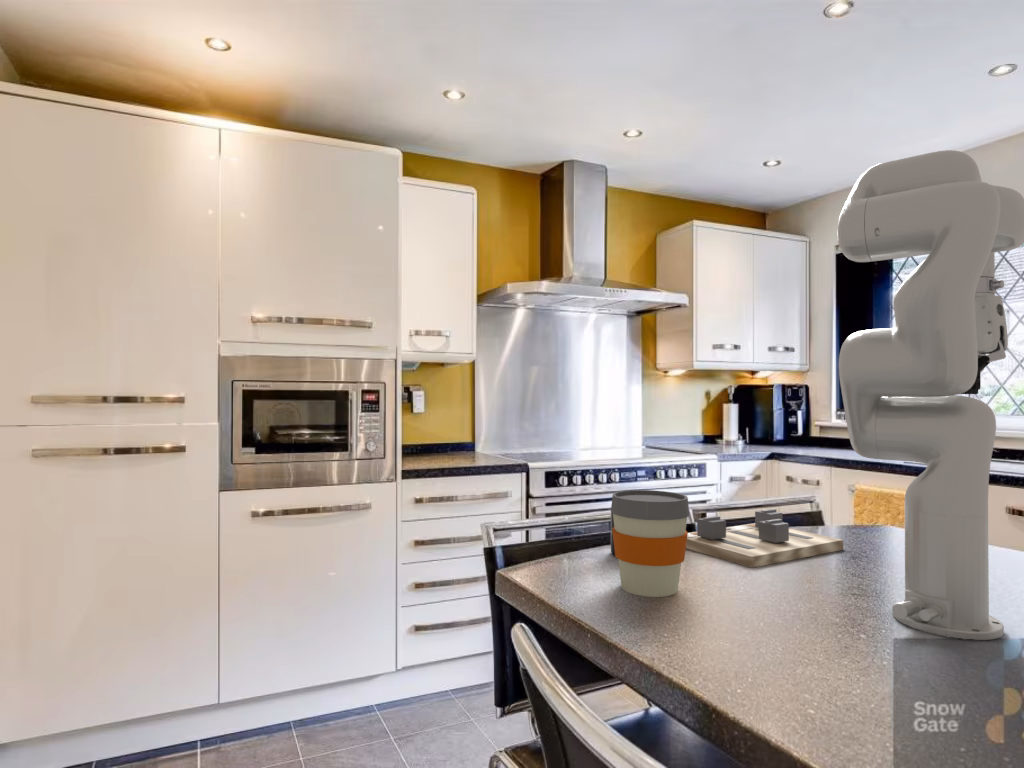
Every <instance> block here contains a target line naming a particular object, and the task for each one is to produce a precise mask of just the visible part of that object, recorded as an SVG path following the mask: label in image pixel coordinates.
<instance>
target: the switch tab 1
mask: <svg viewBox="0 0 1024 768" xmlns="http://www.w3.org/2000/svg"><path fill="white" fill-rule="evenodd" d="M696 520H697V521H696V522H697V524H696V525H697V527H696V532H697V536H700V537H704V538H708V539H711V540H714V539H720V538H726V527H727V520H725V519H721V516H718V515H717V516H715V515H714V516H707V517H702V518H701V517H700V518H697V519H696Z"/></svg>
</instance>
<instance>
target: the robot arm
mask: <svg viewBox="0 0 1024 768" xmlns="http://www.w3.org/2000/svg"><path fill="white" fill-rule="evenodd" d="M979 169H980V168H979V166H978V165H977V162H976V161H975V159H974V158H972V156H970V155H969V154H967V153H965V152H962V151H960V150H955V149H954V150H953V149H951V150H938V151H932V152H928V153H923V154H919V155H913V156H909V157H904V158H900V159H896V160H890V161H887V162H882V163H878V164H875V165H873V166H871V167H869V168H868V169H867V170H865V171H864V172H863V173H862V174H861V175H860V176H859V177H858V179H857V180H856V182H855V184H854V185H853V187H852V189H851V191H850V193H849V195H848V197H847V199H846V201H845V202H844V205H843V207H842V210H841V212H840V214H839V217H838V223H837V242H838V246H839V249H840V251H841V252H842V254H843V256H845V257H846V258H847V259H848V260H850V261H853V262H855V263H870V262H879V261H886V260H887V261H888V260H894V259H902V258H911V257H918V256H926V255H927V257H925V259H924V260H923V261H921V263H920V264H918V266H916V267H915V269H914V270H912V271H911V272H910V273H909V275H908V276H907V277H906V278H905V279H904V281H903V282H901V285H900V286H899V288H898V289H897V291H896V292H895V294H894V297H893V303H892V305H893V310H894V311H893V312H894V320H895V327H890V328H887V327H886V328H872V329H865V330H858V331H856V332H853V333H851V334H850V335H848V336H847V337H846V339H845V340H844V342H842V345H841V348H840V351H839V356H838V375H839V384H840V390H841V396H842V403H843V409H844V415H845V421H846V426H847V427H846V428H847V433H848V438H849V441H850V442H849V443H850V445H851V447H852V449H853V451H854V452H855V453H856V454H857V455H859V456H861V457H862V458H866V459H872V460H880V461H881V460H882V461H883V460H884V461H899V462H912V463H913V462H914V463H920V464H925V465H926V468H925V470H923V472H921V473H920V474H919V475H917V477H915V478H914V479H913V480H912V481H911V482H910V483H909V485H908V486H907V488H906V490H905V494H904V600H903V601H897V602H896V603H895V604H893V605H892V608H891V612H892V613H891V614H892V616H893V617H894V618H895V619H896V620H897V621H898V622H900V623H902V624H904V625H905V626H908V627H910V628H912V629H916V630H919V631H922V632H925V633H929V634H931V635H932V634H933V635H936V636H940V635H941V637H946V636H949V637H948V638H951V637H955V638H954V639H958V638H962V639H961V640H967V639H975V640H974V641H988V640H989V641H991V640H996V639H999V638H1001V637H1003V635H1004V634H1005V626H1004V624H1003V623H1002V622H1001V621H1000V620H999V619H997V618H996V617H994V616H992V615H990V596H989V595H990V594H989V593H990V591H989V589H990V587H989V585H990V584H989V583H990V581H989V580H990V579H989V575H990V574H989V573H990V572H989V568H990V566H989V560H990V559H989V485H990V483H989V482H990V472H991V471H990V470H991V462H992V456H993V450H994V446H995V440H996V435H997V434H996V433H997V419H996V415H995V413H994V411H993V409H992V408H991V407H990V406H989V405H988V404H987V403H985V401H982V400H980V399H977V398H975V397H971V396H966V395H978V394H979V390H981V387H982V386H981V383H982V382H981V372H983V371H984V370H985V367H987V366H988V365H989V364H990V363H992V362H997V361H1000V360H1005V359H1006V357H1007V355H1006V352H1005V351H1007V350H1008V347H1009V336H1008V326H1007V319H1006V313H1005V307H1004V303H1003V299H1002V296H1001V295H996V294H997V290H999V289H1003V288H1004V287H1005V281H1004V280H1003V279H1001V280H997V278H996V273H995V271H996V270H995V269H996V268H995V266H996V265H995V262H996V261H995V258H996V257H995V253H1000V252H1006V251H1012V250H1014V249H1018V248H1020V247H1021V246H1022V245H1023V244H1024V196H1023V195H1022V193H1020V192H1018V191H1017V190H1015V189H1012V188H1009V187H1004V186H1000V185H994V184H993V185H992V184H990V183H987V182H983V180H982V177H981V174H980V171H979Z"/></svg>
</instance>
